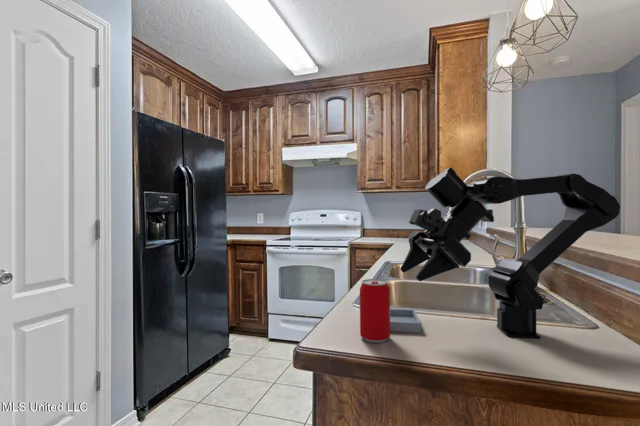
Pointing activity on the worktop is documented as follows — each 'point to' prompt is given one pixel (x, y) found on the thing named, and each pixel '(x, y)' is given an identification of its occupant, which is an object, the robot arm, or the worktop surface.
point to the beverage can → (374, 310)
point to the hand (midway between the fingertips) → (409, 275)
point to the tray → (404, 321)
